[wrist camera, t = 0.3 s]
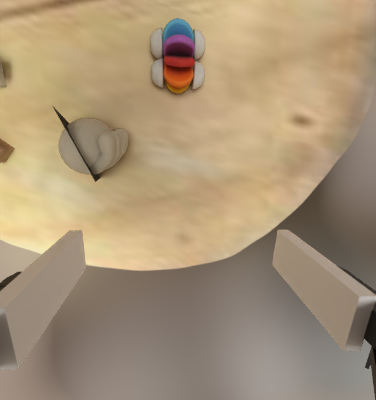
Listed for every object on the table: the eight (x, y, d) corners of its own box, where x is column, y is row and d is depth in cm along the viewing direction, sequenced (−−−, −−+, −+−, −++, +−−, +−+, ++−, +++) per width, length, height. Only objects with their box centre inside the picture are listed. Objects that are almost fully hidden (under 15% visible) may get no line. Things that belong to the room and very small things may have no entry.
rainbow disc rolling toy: (153, 94, 37) (149, 83, 30) (151, 29, 34) (146, 0, 27) (201, 96, 37) (208, 85, 30) (203, 32, 35) (211, 4, 28)
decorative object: (111, 110, 39) (136, 161, 41) (55, 132, 36) (85, 184, 39) (111, 84, 27) (147, 158, 30) (27, 114, 24) (74, 191, 27)
